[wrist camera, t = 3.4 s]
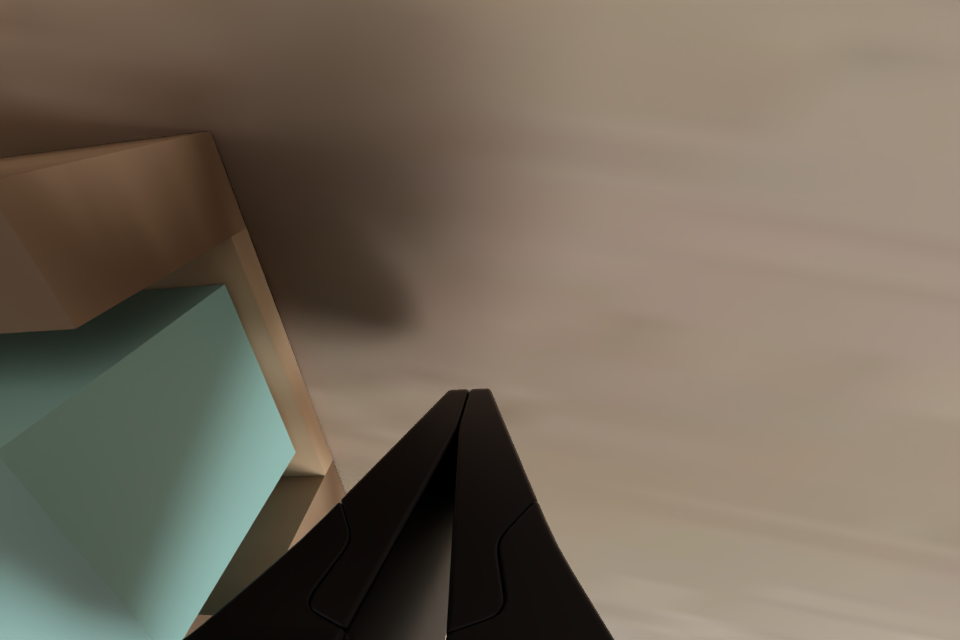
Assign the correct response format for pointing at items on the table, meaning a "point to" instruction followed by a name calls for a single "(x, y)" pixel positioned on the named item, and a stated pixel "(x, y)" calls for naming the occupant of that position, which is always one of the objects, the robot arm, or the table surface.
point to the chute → (160, 265)
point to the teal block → (130, 466)
